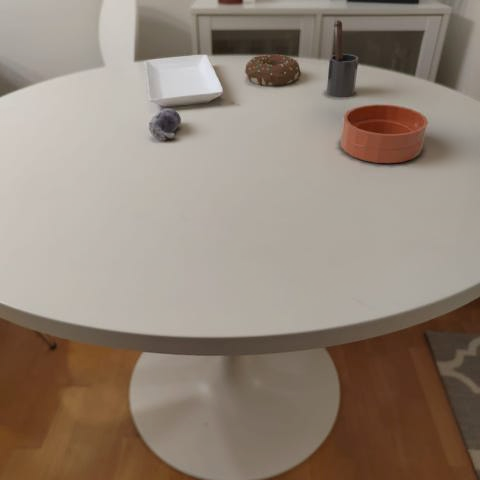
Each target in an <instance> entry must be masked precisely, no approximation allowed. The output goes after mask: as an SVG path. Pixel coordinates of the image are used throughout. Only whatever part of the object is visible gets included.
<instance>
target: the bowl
mask: <svg viewBox="0 0 480 480" xmlns="http://www.w3.org/2000/svg"><path fill="white" fill-rule="evenodd" d="M342 120H343V121H342V127H341V128H342V129H341V135H340V136H341V137H340V147H341V148H342V150H343V151H344V153H346V154H348V155H349V156H351V157H353V158H355V159H358V160H361V161H365V162H370V163H376V164H396V163H397V164H398V163H404V162H406V161H411V160H413V159H415V158H417V157H418V156H419V155H420V154H421V151H422V149H423V147H424V141H425V139H426V134H427V129H428V126H429V125H428V124H429V121H428V118H427V116H425V115H424V114H423V113H421V112H419V111H417V110H415V109H412V108H410V107H405V106H402V105H401V106H400V105H394V104H366V105H365V104H364V105H361V106H357V107H353V108H352V109H349V110H348V111H346V112H345V114H344V115H343V119H342Z"/></svg>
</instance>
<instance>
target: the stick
mask: <svg viewBox="0 0 480 480" xmlns="http://www.w3.org/2000/svg"><path fill="white" fill-rule="evenodd" d="M333 27H334V28H333V30H334V55H335V60H336V61H343V54H344V47H343V46H344V45H343V43H344V41H343V40H344V39H343V37H344V36H343V22H342V21H341V20H336V21H335V22H334V24H333Z"/></svg>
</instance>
